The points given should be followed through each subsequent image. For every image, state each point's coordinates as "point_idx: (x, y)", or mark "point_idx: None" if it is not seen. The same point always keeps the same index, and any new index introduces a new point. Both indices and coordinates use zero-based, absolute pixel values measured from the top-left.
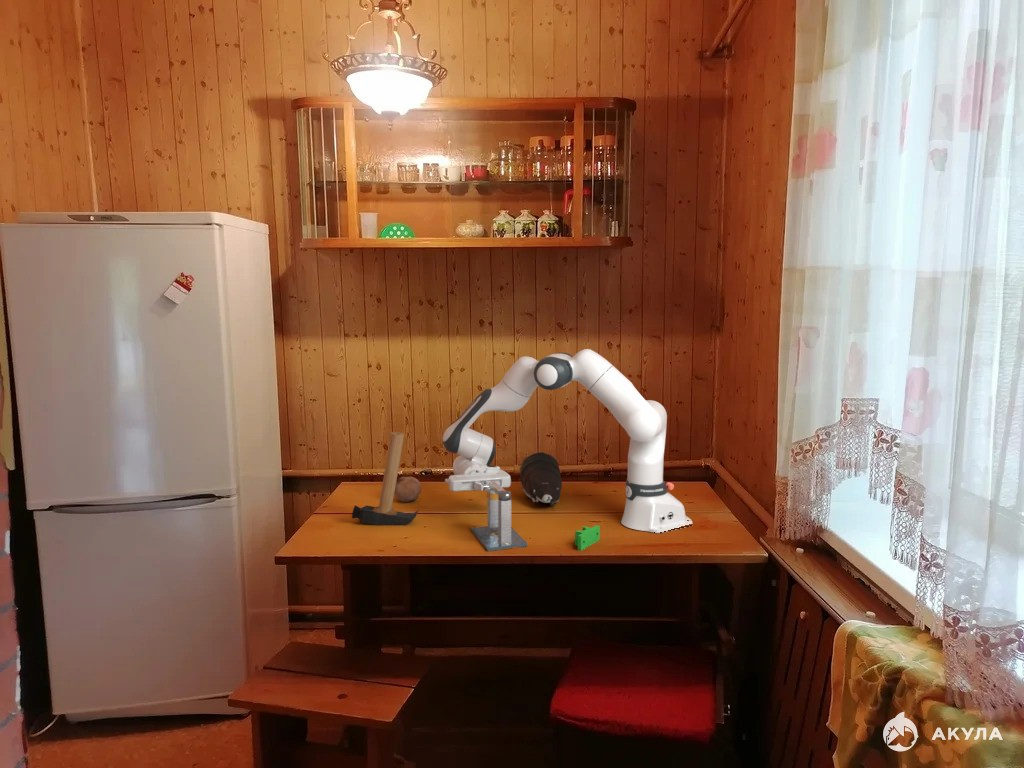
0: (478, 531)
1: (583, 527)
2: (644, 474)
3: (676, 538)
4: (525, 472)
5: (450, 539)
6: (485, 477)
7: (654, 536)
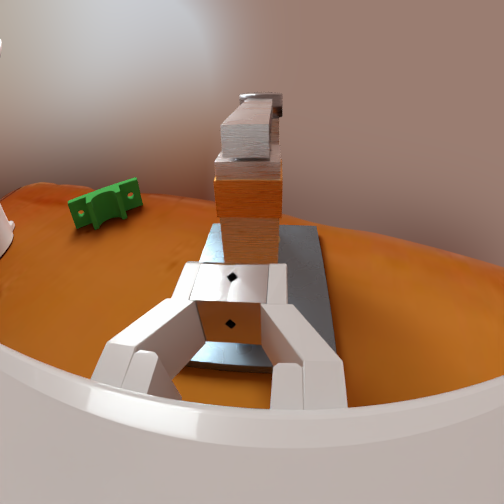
0: (317, 324)
1: (91, 201)
2: None
3: (22, 212)
4: None
5: (410, 317)
6: (89, 434)
7: (25, 220)
